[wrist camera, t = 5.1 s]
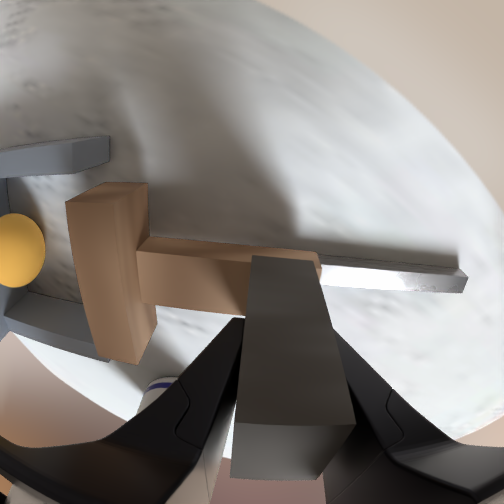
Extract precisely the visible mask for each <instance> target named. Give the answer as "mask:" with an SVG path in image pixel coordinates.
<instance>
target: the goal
mask: <svg viewBox="0 0 504 504" xmlns="http://www.w3.org/2000/svg"><path fill="white" fill-rule="evenodd" d="M109 140H110V136H100V137H87V138H76V139H66V140H57V141H49V142H42V143H35V144H28V145H22V146H16V147H10V148H5V149H0V217H2V216H4V215H7V214H10V208H9V201H8V194H7V185H6V178H10V177H23V176H39V175H61V174H75V173H77V172H80V171H83V170H86V169H89V168H91V167H94V166H97V165H100V164H103V163H106V162H109V161H110V157H109ZM9 331H12V332H14V333H17V334H19V335H22V336H24V337H27V338H30V339H32V340H35V341H38V342H41V343H44V344H46V345H49V346H52V347H55V348H59V349H62V350H65V351H68V352H71V353H75V354H78V355H81V356H85V357H88V358H92V359H96V360H99V361H103V362H107V363H109V361H110V359H108V358H104V357H100V356H98V353H97V350H96V347H95V344H94V341H93V337H92V334H91V331H90V327H89V324H88V320H87V317H86V313H85V309H84V305H83V304H79V303H75V302H70V301H66V300H61V299H57V298H53V297H49V296H44V295H40V294H36V293H32V292H29V291H28V289H27V285H24V286H21V287H8V286H4V285H2V284H0V341H1V340H2V339H3V338H4V337H5V336H6V334H7V333H8V332H9Z"/></svg>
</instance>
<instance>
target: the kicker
mask: <svg viewBox="0 0 504 504" xmlns="http://www.w3.org/2000/svg"><path fill="white" fill-rule="evenodd" d="M65 205H66V214H67V222H68V230H69V236H70V243H71V249H72V255H73V260H74V265H75V270H76V275H77V280H78V284H79V289H80V293H81V297H82V301H83V305H84V309H85V313H86V317H87V320H88V324H89V327H90V331H91V334H92V337H93V341H94V344H95V347H96V350H97V353H98V356H100V357H104V358H108V359H112V360H116V361H121V362H125V363H129V364H134V365H138V364H139V362H140V360H141V358H142V355H143V353H144V351H145V349H146V347H147V345H148V342H149V340H150V338H151V336H152V334H153V332H154V330H155V328H156V326H157V316H156V308H155V305H159V306H166V307H173V308H181V309H189V310H197V311H205V312H214V313H222V314H232V315H242V316H245V326H244V335H243V345H242V354H241V364H240V373H239V382H238V392H237V401H236V411H235V420H234V432H233V444H232V457H231V470H230V478H239V479H252V480H279V481H283V480H285V481H287V480H288V481H293V480H316V479H317V478H318V477H319V476H320V474H321V473H322V472H323V471H324V469H325V468H326V467H327V465H328V464H329V463H330V461H331V460H332V459H333V457H334V456H335V455H336V453H337V452H338V450H339V449H340V448H341V446H342V445H343V443H344V442H345V440H346V439H347V437H348V436H349V435H350V433H351V432H352V430H353V428H354V427H355V425H356V420H355V415H354V411H353V406H352V402H351V398H350V394H349V389H348V385H347V381H346V377H345V373H344V369H343V365H342V361H341V357H340V353H339V349H338V346H337V342H336V338H335V334H334V331H333V327H332V323H331V320H330V316H329V313H328V309H327V306H326V302H325V299H324V295H323V292H322V288H321V285H320V277H321V273H322V267H321V264H320V261H319V258H318V255H317V253H316V252H313V251H303V250H292V249H282V248H272V247H261V246H250V245H240V244H229V243H218V242H208V241H197V240H186V239H175V238H164V237H152V236H149V216H148V183H130V182H105V183H103V184H101V185H98V186H96V187H94V188H92V189H90V190H88V191H86V192H84V193H82V194H80V195H78V196H76V197H74V198H72V199H70V200H68V201H66V202H65Z"/></svg>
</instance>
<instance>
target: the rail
mask: <svg viewBox="0 0 504 504" xmlns="http://www.w3.org/2000/svg"><path fill="white" fill-rule="evenodd" d="M318 258H319V261H320V264H321V267H322V273H321V277H320V285H332V286H345V287H359V288H374V289H389V290H406V291H424V292H444V293H462V292H463V290H464V287H465V285H466V282H467V280H468V276H467V275H466V274H465V273H464V272H463V271H462V270H461V269H458V268H448V267H438V266H428V265H418V264H408V263H398V262H388V261H378V260H368V259H358V258H348V257H337V256H327V255H318Z"/></svg>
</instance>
